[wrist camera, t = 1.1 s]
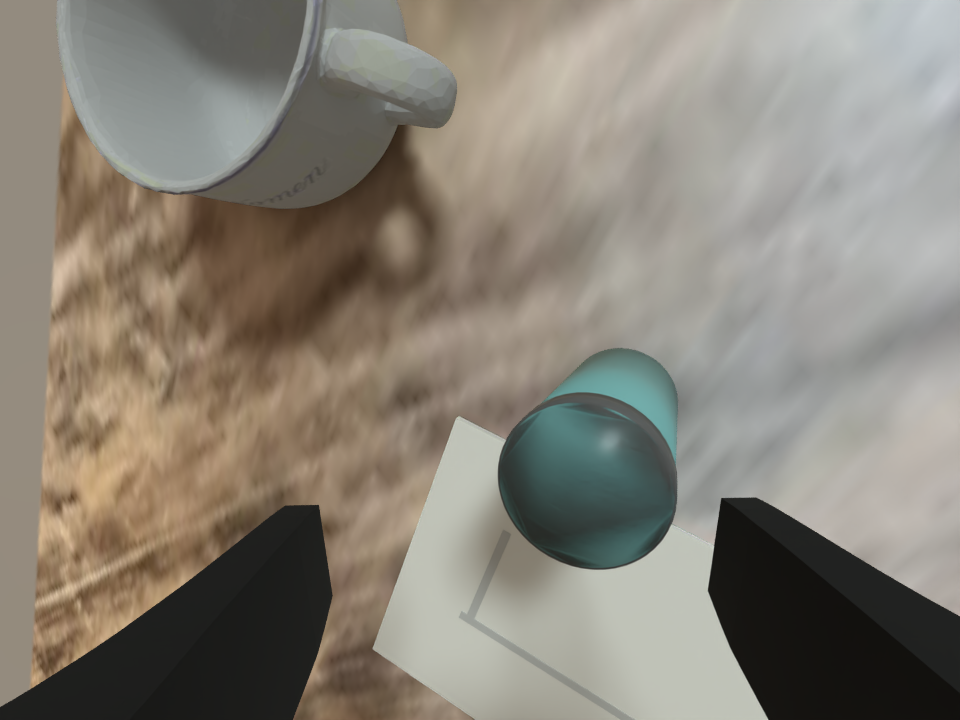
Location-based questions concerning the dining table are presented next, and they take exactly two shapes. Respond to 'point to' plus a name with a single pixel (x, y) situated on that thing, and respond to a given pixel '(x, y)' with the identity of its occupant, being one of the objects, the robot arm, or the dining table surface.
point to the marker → (596, 463)
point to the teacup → (247, 92)
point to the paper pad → (552, 615)
